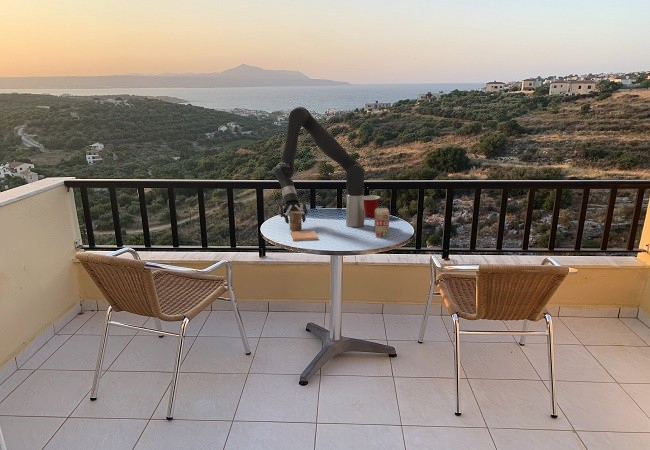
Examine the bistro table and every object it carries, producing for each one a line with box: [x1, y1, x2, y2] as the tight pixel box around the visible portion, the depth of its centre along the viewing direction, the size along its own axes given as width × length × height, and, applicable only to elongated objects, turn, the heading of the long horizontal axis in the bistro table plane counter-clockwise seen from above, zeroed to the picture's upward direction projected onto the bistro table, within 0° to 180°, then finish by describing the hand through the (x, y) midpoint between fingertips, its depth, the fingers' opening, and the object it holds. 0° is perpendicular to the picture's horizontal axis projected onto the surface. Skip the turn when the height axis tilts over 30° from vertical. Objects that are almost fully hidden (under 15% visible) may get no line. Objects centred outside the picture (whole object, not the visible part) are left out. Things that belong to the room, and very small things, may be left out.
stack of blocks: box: [374, 207, 390, 238], centre depth 207 cm, size 21×6×12 cm, turn 175°
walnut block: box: [288, 210, 303, 232], centre depth 208 cm, size 5×5×10 cm
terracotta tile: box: [290, 230, 319, 242], centre depth 199 cm, size 12×12×1 cm
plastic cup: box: [363, 194, 381, 218], centre depth 238 cm, size 11×11×12 cm
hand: (296, 222), depth 207 cm, fingers open, 8 cm apart
